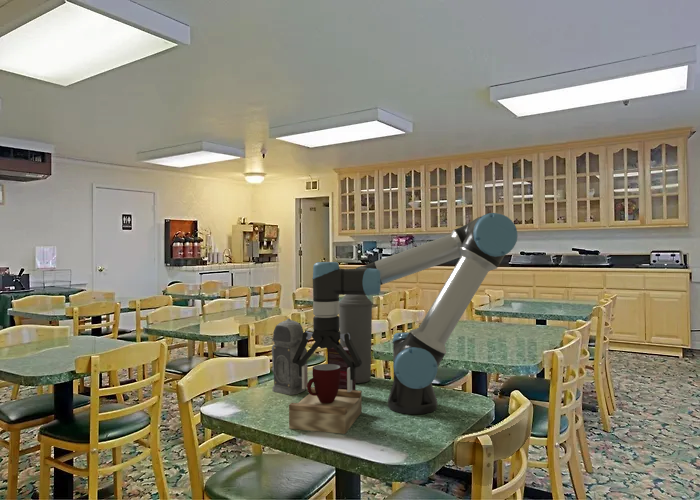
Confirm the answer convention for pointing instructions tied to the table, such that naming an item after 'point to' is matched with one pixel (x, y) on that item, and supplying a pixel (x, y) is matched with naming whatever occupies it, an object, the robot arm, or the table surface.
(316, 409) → the pedestal
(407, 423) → the table surface
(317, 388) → the mug
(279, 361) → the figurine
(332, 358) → the supplement box
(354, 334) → the canister
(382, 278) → the robot arm
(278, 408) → the table surface
